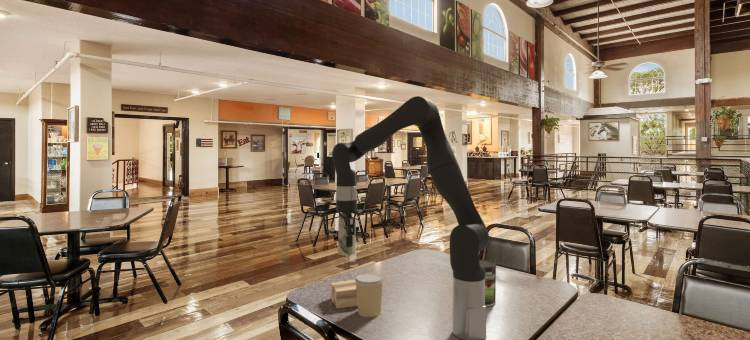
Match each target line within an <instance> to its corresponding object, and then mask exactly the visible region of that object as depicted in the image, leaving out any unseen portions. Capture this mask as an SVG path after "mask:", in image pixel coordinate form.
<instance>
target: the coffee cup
mask: <svg viewBox="0 0 750 340" xmlns="http://www.w3.org/2000/svg"><path fill="white" fill-rule="evenodd" d="M354 280H355V281H356V291H357V305H358V306H357V313H358V315H359V316H361V317H363V318H374V317H378V316H380V315H381V312H382V301H383V283H384V278H383V277H382V276H381V275H380V274H377V273H362V274H360V275H357V276H356V278H355V279H354Z"/></svg>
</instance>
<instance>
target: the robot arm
mask: <svg viewBox="0 0 750 340" xmlns="http://www.w3.org/2000/svg"><path fill="white" fill-rule="evenodd" d="M440 115H441V114H440V112H439V109H438V107H437V105H436V104H435V102H433V101H432V100H431V99H429V98H426V97H424V96H420V95H415V96H412V97H411V98H409V99H408V100H406V101H405V102H404V103H403V104H402V105H400V106H399V107H398V108H396V109H395V110H394V111H393V112H392V113H390V114H389V115H387V116H386V117H385V118H384V119H382V120H381V121H379V122H378V123H375V124H374V125H373V126H371V127H369V128H367V129H365V130H363V131H362V132H360V133H359V134H357V135H356V136H355V138H354V140H353V141H351V142H338V143H336V144H335V145H334V146H333V148H332V152H331V158H332V163H333V167H334V170H335V174H336V189H335V211H336V212H337V213H338V216H339V217H338V220H339V219H342V223H343V227H344V230H345V232H346V246H347V247H352V246H353V235H355V236H356V233H355V219H356V218H354V216H353V213H355V212H357V211H358V191H357V175H356V174H357V173H356V171H355V170H354V169H352V168H351V163H354V162H356V161H358V160H360V159H361V158H362V157H363V156H365V155H366V154H367V153H369V152H372V150H375V149H376V148H379V147H380V146H382V145H383V144H385V143H386V142H387V141H388V140H389V139H390V138H391V137H392V136H393V135H395V134H396V133H398V132H399V131H401V130H404V129H405V128H408V127H411V126H415V127H416V128H418V130H419V132H420V134H421V136H422V138H423V142H424V144H425V150H426V165H427V169H428V172H429V176H430V178H431V180H432V183H433V186H434V188H435V189H436V190H437V192H438V194H439V195H440V196H441V197H442V199H444V200H445V202H446V203H447V204H448V206H449V207H450V208H451V210H452V211H453V213H454V215H455V219H456V221H457V223H458V224H457V225H456V226H455V227H453V228H452V230H451V231H450V235H449V262H450V266H451V270H452V333H453V335H454V336H455V337H456V338H458V339H461V340H486V339H487V307H486V306H485V269H484V268H483V267H482V266H480V262H479V259H480V252H481V251H483V250H485V249H486V248H487V247H488V245H489V243H490V235H489V231H488V229H487V226H486V225H485V223H484V221H483V218H482V217H481V215H480V212H479V211H478V209H477V207H476V205H475V203H474V200H473V198H472V196H471V193H470V190H469V188H468V185H467V182H466V181H465V178H464V175H463V173H462V169H461V167H460V164H459V162H458V160H457V158H456V156H455V153H454V151H453V149H452V146H451V144H450V142H449V139H448V138H447V135H446V133H445V130H444V125H443V123H442V119H441V116H440ZM346 226H347V227H346ZM349 229H350V230H351V232H349Z"/></svg>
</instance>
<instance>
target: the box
mask: <svg viewBox="0 0 750 340" xmlns="http://www.w3.org/2000/svg"><path fill="white" fill-rule="evenodd" d="M356 222H357V219H356V218H355V235H353V246H352V247H347V246H346V232H345V230H344V227H343V223H342V219H339V218H338V230H337V231H338V233H337V236H338V239H337V240H338V242H337V243H338V244H337V245H338V246H337V247H338V248H337V252H338V253H337V254H338V255H339V256H344V257H345V256H346V257H350V256H353V255H355V254H356V229H357V228H356ZM346 227H347V226H346ZM349 232H351V230H350V229H349Z"/></svg>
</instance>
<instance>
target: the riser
mask: <svg viewBox="0 0 750 340" xmlns="http://www.w3.org/2000/svg"><path fill="white" fill-rule="evenodd" d="M355 280H356V279H349V280H348V279H347V280H340V281H332V282H330V299H331V301H332V303H333V305H334V306H335V308H336V310H337V309H344V308H352V307H358V305H357V291H356V281H355Z"/></svg>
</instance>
